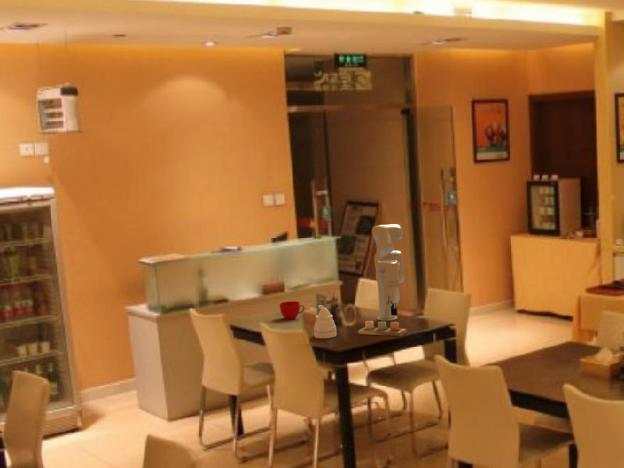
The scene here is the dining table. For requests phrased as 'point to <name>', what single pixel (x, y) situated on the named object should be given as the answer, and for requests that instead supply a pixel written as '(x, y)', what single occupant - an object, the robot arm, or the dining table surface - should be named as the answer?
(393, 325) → the button three
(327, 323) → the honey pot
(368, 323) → the button one
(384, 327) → the button two
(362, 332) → the wooden panel frame
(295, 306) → the ceramic cup
